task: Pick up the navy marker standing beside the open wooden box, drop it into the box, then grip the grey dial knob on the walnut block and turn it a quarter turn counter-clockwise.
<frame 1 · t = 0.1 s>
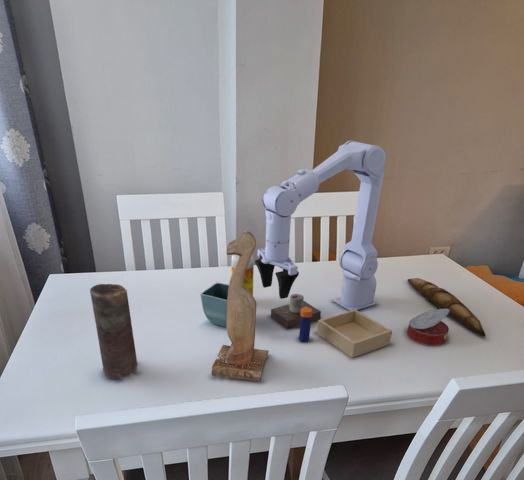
hand: (275, 292, 120), 10 cm above the table, tool pointing down, fingers open, 7 cm apart
bread: (441, 308, 139), on the table
flower pot: (223, 322, 127), on the table
candle: (121, 371, 106), on the table
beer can: (242, 304, 137), on the table
grey dial knob: (296, 302, 128), point 5 cm above the table, hinge at 0.0°
bird sculpture: (241, 367, 109), on the table
marker: (304, 339, 120), on the table
open wooden box: (352, 339, 121), on the table
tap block: (295, 318, 130), on the table
canned food: (426, 336, 124), on the table
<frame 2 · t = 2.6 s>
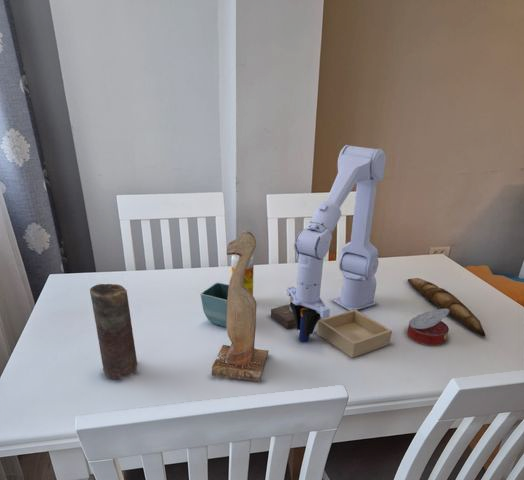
hand: (304, 331, 119), 2 cm above the table, tool pointing down, fingers closed on marker, 2 cm apart
marker: (304, 339, 120), on the table, touching gripper
everything else where it was.
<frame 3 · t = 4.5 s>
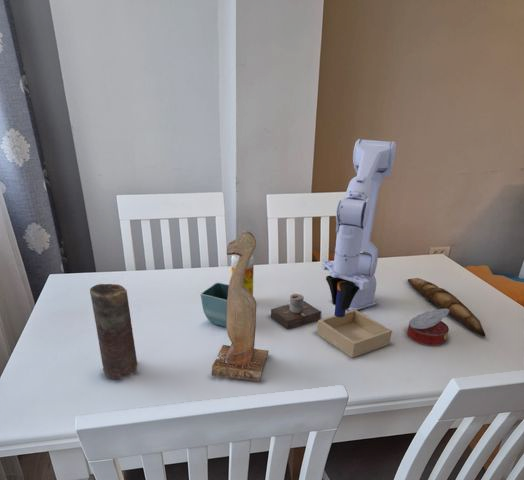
hand: (340, 306, 116), 9 cm above the table, tool pointing down, fingers closed on marker, 2 cm apart
marker: (339, 314, 117), point 7 cm above the table, touching gripper
everything else where it was.
when the fingers open (3 cm above the table, at t = 6.6 s): marker stays where it is, resting on open wooden box.
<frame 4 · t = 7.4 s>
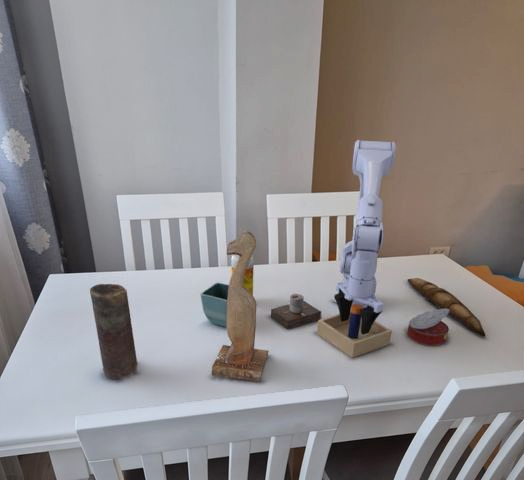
hand: (354, 326, 119), 4 cm above the table, tool pointing down, fingers open, 7 cm apart
marker: (353, 336, 121), point 1 cm above the table, touching open wooden box
everything else where it was.
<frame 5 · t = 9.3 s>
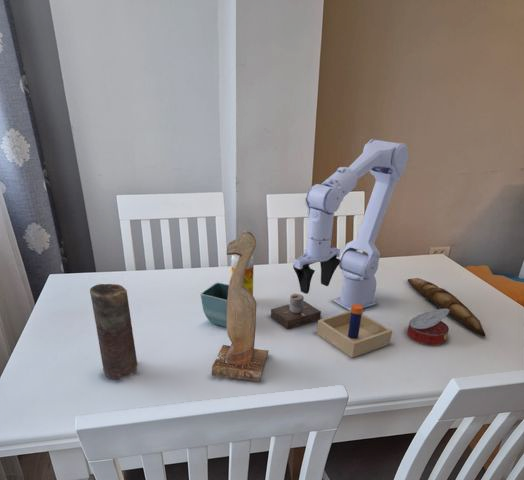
hand: (314, 288, 122), 10 cm above the table, tool pointing down, fingers open, 7 cm apart
nothing on the table moved.
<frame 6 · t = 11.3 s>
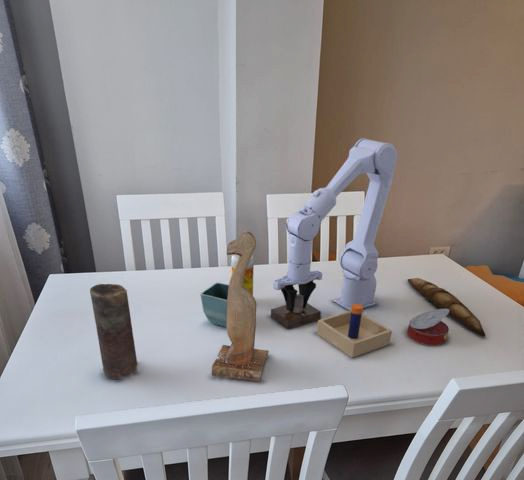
hand: (296, 308, 128), 3 cm above the table, tool pointing down, fingers closed on grey dial knob, 3 cm apart
grey dial knob: (296, 302, 128), point 5 cm above the table, hinge at 0.0°, touching gripper
everything else where it was.
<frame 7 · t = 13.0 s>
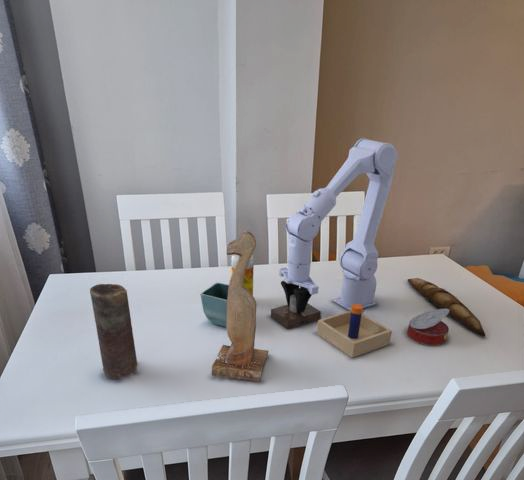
hand: (295, 308, 128), 3 cm above the table, tool pointing down, fingers closed on grey dial knob, 4 cm apart
grey dial knob: (296, 302, 128), point 5 cm above the table, hinge at 90.9°, touching gripper
everything else where it was.
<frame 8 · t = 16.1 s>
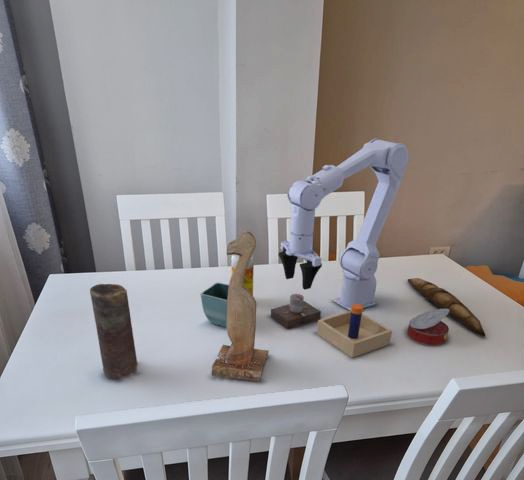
hand: (297, 283, 125), 10 cm above the table, tool pointing down, fingers open, 7 cm apart
grey dial knob: (296, 302, 128), point 5 cm above the table, hinge at 90.8°
everything else where it was.
at the end: marker inside the target area in the open wooden box (0.0 cm from its centre), point 0.8 cm above the open wooden box's base; grey dial knob at +91° (first picture: +0°) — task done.
